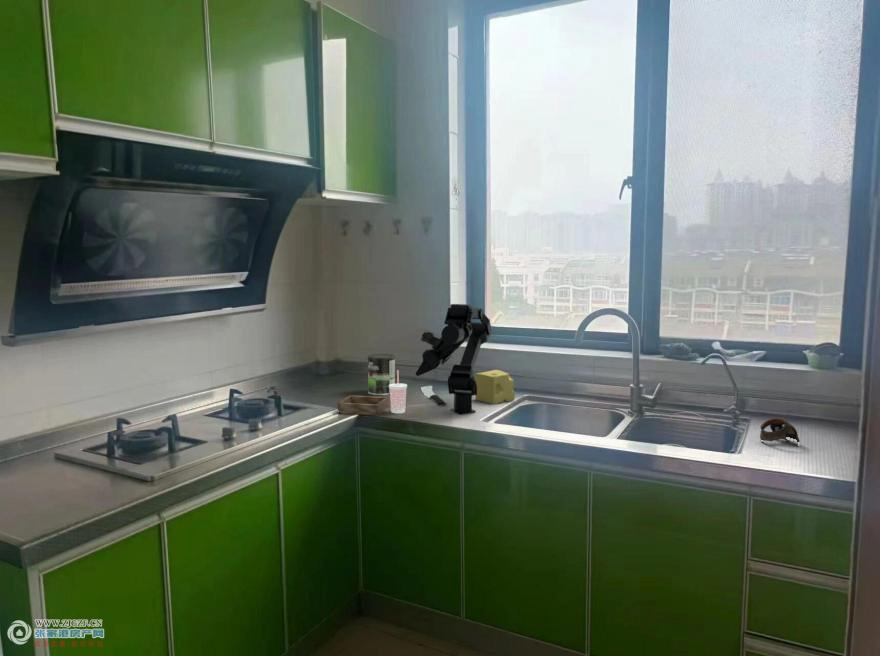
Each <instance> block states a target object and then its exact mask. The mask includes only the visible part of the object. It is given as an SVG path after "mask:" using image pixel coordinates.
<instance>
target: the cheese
mask: <svg viewBox="0 0 880 656" xmlns="http://www.w3.org/2000/svg"><path fill="white" fill-rule="evenodd" d="M474 378H475V381H476V384H477V395H474V396H475V400H478V401H480V400H481V402H485V403H489V404H492V405H496V404H500V403H503V402H506V403H507V401H508V402H513V401H512V400H514V401H515V397H516V394H515V390H514V387H515V382H514V381H515V380H514V379H513V378H512V377H511V375H510V374H509V373H508V372H505V371H503V370H499V369H492V370H489V371H484V372H483V371H482V372H477V373H475V376H474Z"/></svg>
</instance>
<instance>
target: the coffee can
mask: <svg viewBox="0 0 880 656" xmlns="http://www.w3.org/2000/svg"><path fill="white" fill-rule="evenodd" d="M395 361H396V355H394V354H391V353H375V354H369V355H368V356H367V369H368V370H367V371H368V372H367V374H368V375H367V394H369V395H371V396H390V395H389V394H390V388H389V385H390V384H395V382H396V378H395V377H396V376H395V375H396V374H395V373H396V371H395V370H396V368H395V367H396V364H395V363H396V362H395Z"/></svg>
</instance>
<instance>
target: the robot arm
mask: <svg viewBox="0 0 880 656" xmlns="http://www.w3.org/2000/svg"><path fill="white" fill-rule="evenodd" d="M473 320H480V321H473ZM444 325H446V326H445V327H443V329H442V331H441V332H440V333H441V334H440V335H441V336H440V335H439V334H436V333H434V332H432V331H430V330H428V329H426V330H424V331H423V334H421V338H420V341H421V342H425V343H427V344H429V345H431V348H428V349H426V350H425V351H423V353H422V354H421V355H422V356H421V357H422V362H421V363H420V366H419V367H418V369H417V370H416V372H415V375H416V376H417V377H419V376H422V375H424V374H426V373H429V372H432V371H433V370H435V369H437V368H439V366H441V365H444V364H445V363H447V362H448V361H450V359H452V357H453V356H452V355H453V353H455V351H457V350H458V349H459V348H460V347H461V345H463V344H464V343H465V342H466V341H467V340H468V341H467V343H466V346H465V349H464V351H463V353H462V357H461V360H460V361H459V362H460V363H459V364H454V365H453V366H452V369H451V371H450V375H448V377H447V389H448V394H449V395H450V394H452V395H453V408H450V409H449V411H450V412H453V413H454V414H458V415H464V414H465V415H466V414H472V413H476V410H475V409H473V402H472V401H473V397H474V396H475V395H477V384H476V381H475V376H474V368H475V364H476V361H477V358H478V354H479V352H480V350H481V347H482V345H483V344H485V343H487V342H488V340H489V338H490V336H491V335H492V324H491V321H490V318H488V316H487V315H486V314H485V313H484V309H483V308H481V307H473V306H472V305H471V304H469V303H468V304H466V303H465V304H464V303H463V304H462V303H451V304H450V305H449V306H448V308H447V312H446V316H445V319H444Z"/></svg>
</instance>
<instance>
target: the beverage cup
mask: <svg viewBox="0 0 880 656" xmlns="http://www.w3.org/2000/svg"><path fill="white" fill-rule="evenodd" d="M396 372H397V373H396V375H397V376H396V377H397V378H396V379H397V380H396V381H397V382H396V383H395V384H390V385H389V388H390V395H389V400H390V413H393V414H403V413H405V412H406V406H407V405H406V404H407V403H406V401H407V400H406V399H407V398H406V397H407V388H408V384H407V383H401V382H400V379H399V378H400V375H399V374H400V373H399V372H400V370H399V369H397V370H396Z"/></svg>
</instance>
